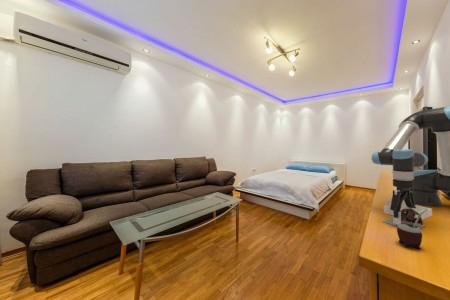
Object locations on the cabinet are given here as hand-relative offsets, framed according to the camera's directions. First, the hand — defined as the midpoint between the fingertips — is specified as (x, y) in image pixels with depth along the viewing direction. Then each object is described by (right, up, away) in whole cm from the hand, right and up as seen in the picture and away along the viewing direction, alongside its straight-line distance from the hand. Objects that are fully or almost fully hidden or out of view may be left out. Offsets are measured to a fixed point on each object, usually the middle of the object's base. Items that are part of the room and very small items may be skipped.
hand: (403, 221), depth 88 cm
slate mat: (0, -1, 0) cm, 1 cm away
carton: (+15, -1, +13) cm, 20 cm away
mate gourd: (-16, -2, -19) cm, 25 cm away
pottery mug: (-2, 0, -5) cm, 5 cm away
